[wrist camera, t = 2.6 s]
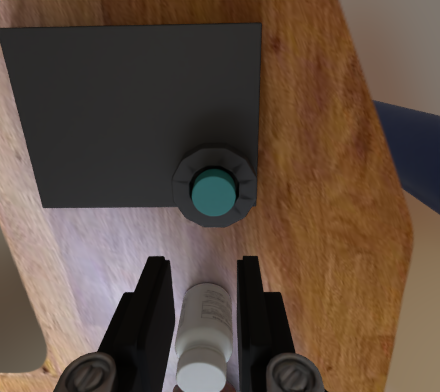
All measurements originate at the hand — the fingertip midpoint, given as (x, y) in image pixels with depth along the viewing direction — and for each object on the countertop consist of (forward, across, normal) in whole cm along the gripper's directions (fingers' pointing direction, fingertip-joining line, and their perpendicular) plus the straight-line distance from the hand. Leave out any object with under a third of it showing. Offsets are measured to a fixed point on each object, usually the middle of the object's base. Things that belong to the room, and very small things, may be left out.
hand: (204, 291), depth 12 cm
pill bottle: (+13, +1, +12) cm, 18 cm away
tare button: (+11, 0, 0) cm, 11 cm away
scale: (+13, +5, -4) cm, 15 cm away
